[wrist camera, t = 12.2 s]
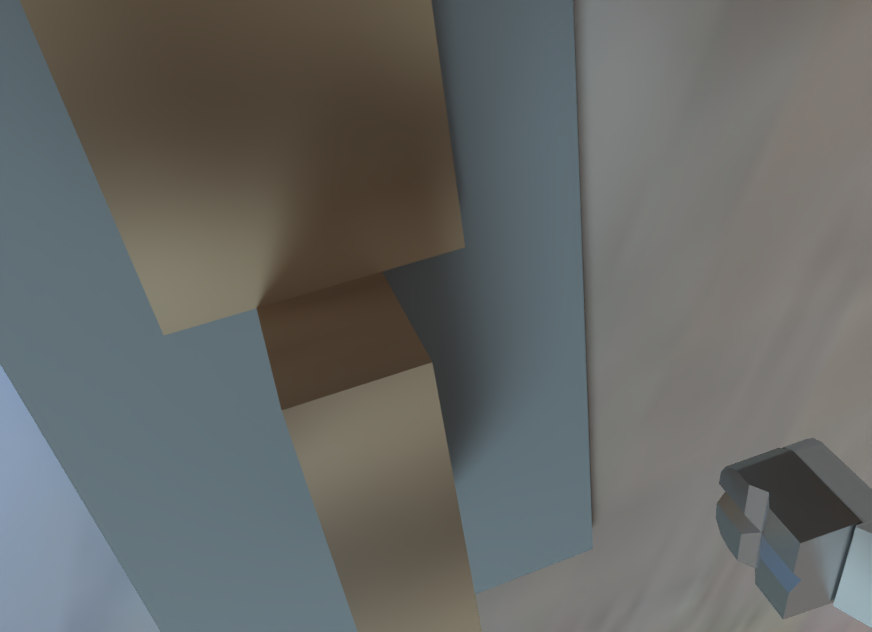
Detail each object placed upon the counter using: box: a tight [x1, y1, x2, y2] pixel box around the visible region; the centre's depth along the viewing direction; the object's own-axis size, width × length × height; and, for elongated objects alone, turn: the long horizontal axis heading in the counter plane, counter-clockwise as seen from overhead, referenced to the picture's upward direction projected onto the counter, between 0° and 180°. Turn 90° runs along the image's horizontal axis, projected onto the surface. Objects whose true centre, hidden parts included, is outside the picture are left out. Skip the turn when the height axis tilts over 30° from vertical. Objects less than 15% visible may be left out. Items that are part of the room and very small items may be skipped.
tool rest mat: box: [0, 0, 593, 632], centre depth 17 cm, size 12×20×1 cm, turn 8°
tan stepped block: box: [20, 0, 482, 632], centre depth 14 cm, size 14×6×4 cm, turn 8°
